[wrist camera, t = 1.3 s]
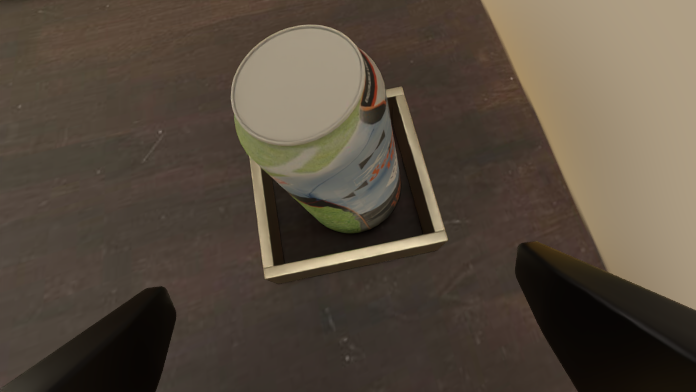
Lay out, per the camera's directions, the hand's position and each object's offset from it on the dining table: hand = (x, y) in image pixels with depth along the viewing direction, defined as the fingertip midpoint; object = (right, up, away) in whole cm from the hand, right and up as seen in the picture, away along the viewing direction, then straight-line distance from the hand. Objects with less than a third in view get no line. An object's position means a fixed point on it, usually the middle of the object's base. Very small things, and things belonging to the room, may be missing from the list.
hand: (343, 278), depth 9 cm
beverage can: (0, +2, +15) cm, 15 cm away
